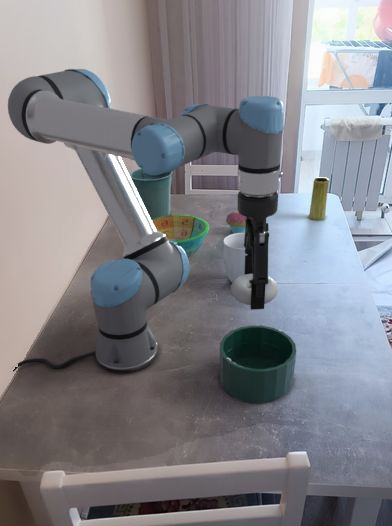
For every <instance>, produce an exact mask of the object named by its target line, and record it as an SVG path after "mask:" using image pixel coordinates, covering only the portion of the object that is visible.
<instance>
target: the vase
mask: <svg viewBox="0 0 392 526" xmlns="http://www.w3.org/2000/svg"><path fill="white" fill-rule="evenodd" d="M329 182H330V180H329V178H327V177H315V178H314V179H313V186H312V192H311V199H310V206H309V207H310V208H309V214H308V218H309V219H310V220H313V221H322V220H325V218H326V212H327V211H326V210H327V209H326V208H327V199H328V189H329Z"/></svg>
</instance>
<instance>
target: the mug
mask: <svg viewBox="0 0 392 526" xmlns="http://www.w3.org/2000/svg"><path fill="white" fill-rule="evenodd" d="M244 239H245V232H244V233H231V234H229V235H227V236H225V237H224V238H223V243H222V244H223V245H222V246H223V247H222V248H223V249H222V252H223V254H222V255H223V267H224V270H225V274H226V276H227V278H228V280H229V281H230V282H231V284H232V283H233V282H234V280H235V279H237V278H238V277H240V276H242V275H244V274H245V255H247V254H245V248H244Z"/></svg>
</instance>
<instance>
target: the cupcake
mask: <svg viewBox="0 0 392 526" xmlns="http://www.w3.org/2000/svg"><path fill="white" fill-rule="evenodd" d="M245 220H246V217H245V216H243V215H241V214H240V213H239V212H238V211H232V212H230V213H229V214H227V216H226V219H225V222H226V224H227V225H229V229H230V230H231V233H232V234H235V233H245V225H246V224H245Z"/></svg>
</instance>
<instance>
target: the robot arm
mask: <svg viewBox="0 0 392 526" xmlns="http://www.w3.org/2000/svg"><path fill="white" fill-rule="evenodd" d="M110 104H111V96H110V94H109V91H108V88H107V87H106V84H105V83H104V82H103V81H102V79H101V78H100V77H99V76H98V75H96V74H95V73H94V72H93V71H90V70H88V69H86V68H76V69H75V68H68V69H64V70H62V71H56V72H50V73H46V74H41V75H36V76H35V75H34V76H28V77H26V78H24V79H22V80H20V81H18V83H16V85H14V86H13V88H12V89H11V91H10V93H9V97H8V98H7V112H8V116H9V120H10V121H11V124H12V125H13V127H14V128H15V129H16V130H17V132H18V133H19V134H20V135H22V136H23V137H25V138H27V139H29V140H31V141H33V142H34V141H35V142H37V143H42V144H47V145H50V144H54V143H56V142H59V143H63V145H64V146H65V147H67V148H68V149H71V150H73V151H75V153H76V155H77V157H78V159H79V160H80V162H81V164H82V166H83V168H84V171H85V173H86V174H87V176H88V178H89V180H90V182H91V183H92V186H93V188H94V190H95V191H96V193H97V196H98V197H99V200H100V201H101V203H102V205H103V207H104V209H105V211H106V213H107V215H108V217H109V219H110V220H111V222H112V224H113V226H114V228H115V230H116V232H117V234H118V236H119V238H120V240H121V242H122V245H123V246H124V249H123V251H122V258H117V259H116V260H108V261H106V262H103V264H101V265H99V266H98V267H97V268H96V269H95V270H94V271H93V273H92V274H91V276H90V280H89V281H90V282H89V283H90V296H91V300H92V302H93V307H94V312H95V318H96V323H97V327H98V335H97V341H96V345H95V351H91V352H88V353H85V354H81V355H77V356H74V357H71V358H70V359H68V360H66V361H65V362H63V363H60V364H53V363H52V362H50V361H49V360H48V359H46V358H41V357H40V358H39V357H38V358H37V357H36V358H27V359H24V360H22V361H19V362H18V363H17V364H18V367H15V369H14V370H13V372H12V373H14V372H15V371H17V370H18V368H20V367H22V366H23V365H26V364H30V363H31V364H32V363H44V364H45V365H47V366H48V367H49V368H51V369H54V370H55V369H57V370H58V369H63V368H65V367H67V366H69V365H70V364H72V363H74V362H76V361H79V360H83V359H86V358H90V357H94V356H95V358H96V362H97V364H98V365H99V366H100V367H101V368H102V369H104V370H106V371H107V372H111V373H115V374H130V373H134V372H135V373H136V372H138V371H141V370H143V369H145V368H147V367H148V366H150V365H152V363H154V362H155V360H156V359H157V357H158V353H159V348H158V342H157V340H156V337H155V336H154V334H153V333H152V331H151V328H150V327H149V324H148V317H147V310H148V309H150V308H151V307H153V306H154V305H156V304H157V303H159V302H160V301H162V300H163V299H165V298H166V297H167V296H169V295H171V294H172V293H173V294H174V293H175V292H177V291H178V290H179V288H180V287H182V286H183V285H184V284H185V283H186V282H187V280H188V277H189V275H190V261H189V258H188V257H187V255H186V253H185V251H184V250H183V248H182V247H181V246H178V245H177V243H175V242H173V241H168V239H167V237H166V235H165V234H164V233H161V232H158V231H157V230H156V229H155V226H154V224H153V222H152V219H151V218H150V216H149V214H148V212H147V210H146V208H145V206H144V204H143V202H142V200H141V198H140V196H139V194H138V192H137V190H136V188H135V186H134V184H133V182H132V179H131V178H130V176H129V175H130V173H129V172H128V170H127V168H126V166H125V164H124V162H123V159H126V160H131V161H134V162H135V163H136V165H137V166H138V168H139V169H141V168H142V169H143V170H144V172H145V173H147V174H150V175H159V174H162V173H168V172H171V171H175V170H176V169H178V168H180V167H183V166H185V165H187V164H190V163H192V162H194V161H197V160H199V159H201V158H204V157H206V156H208V155H210V154H214V153H222V154H226V155H231V156H232V155H233V156H237V164H238V166H237V190H238V193H237V212H239V213H240V214H241V215H243V216H245V217H246V220H245V224H246V225H245V232H244V233H245V239H244V248H245V254H247V255H245V274H244V275H246V274H253V279H252V280H249V283H251V305H249V306H250V307H249V308H250V310H253V311H254V310H255V311H256V310H265V304H264V303H265V286H266V284H268V276H269V242H270V241H269V239H270V232H269V223H268V222H267V218H269V217H272V216H274V215H275V214H276V213H277V212H278V208H279V207H278V205H279V192H278V190H279V188H280V178H282V177H283V175H284V172H282V171H281V157H282V156H281V155H282V144H283V134H284V130H285V125H284V103H283V101H282V100H281V99H280V98H278V97H276V96H270V95H264V96H262V95H253V96H248V97H244V98H242V99H241V100H240V102H239V103H238V104H239V105H238V108H236V107H235V108H234V107H227V106H218V105H212V104H209V103H202V104H195V103H194V104H190V105H188V106H186V107H185V109H184V111H183V112H182V113H181V114H180V115H178V116H174V117H171V118H160V117H155V116H149V115H146V114H140V113H135V112H131V111H126V110H119V109H116V108H115V109H114V108H112V106H111V105H110ZM122 158H123V159H122Z"/></svg>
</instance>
